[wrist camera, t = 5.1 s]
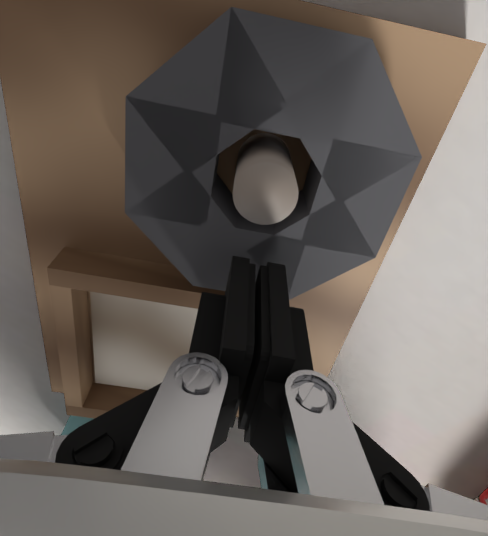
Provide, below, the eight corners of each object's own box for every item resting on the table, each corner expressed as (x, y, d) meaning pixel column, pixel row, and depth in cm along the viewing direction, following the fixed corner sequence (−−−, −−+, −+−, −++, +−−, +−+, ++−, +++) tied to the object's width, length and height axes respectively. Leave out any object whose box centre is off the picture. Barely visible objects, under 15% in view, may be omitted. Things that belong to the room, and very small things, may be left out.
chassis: (301, 408, 22) (309, 481, 19) (61, 373, 21) (22, 444, 18) (466, 41, 12) (556, 52, 8) (2, -67, 10) (-125, -109, 7)
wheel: (340, 279, 15) (350, 312, 13) (139, 244, 14) (124, 274, 13) (433, 53, 10) (466, 60, 9) (148, -12, 10) (126, -18, 8)
